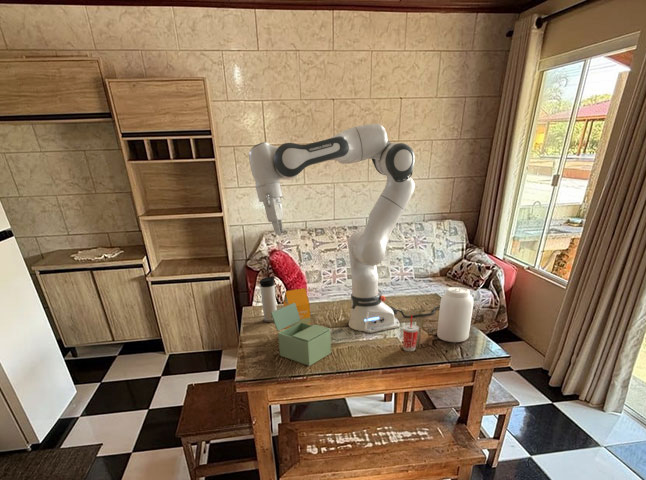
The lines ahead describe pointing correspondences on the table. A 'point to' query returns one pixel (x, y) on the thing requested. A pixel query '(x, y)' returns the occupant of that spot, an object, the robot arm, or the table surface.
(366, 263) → the robot arm
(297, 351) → the storage box
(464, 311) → the white upright cylinder
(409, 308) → the table surface
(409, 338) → the beverage cup
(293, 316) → the flap
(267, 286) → the travel mug
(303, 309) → the orange juice
